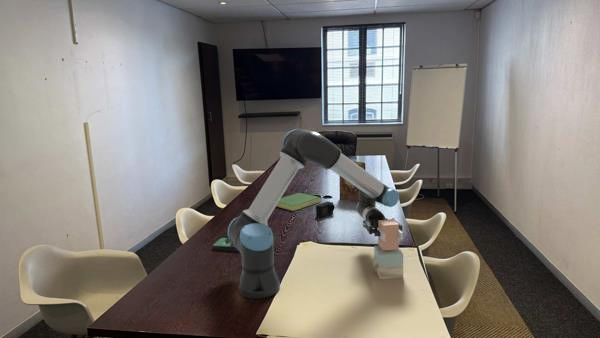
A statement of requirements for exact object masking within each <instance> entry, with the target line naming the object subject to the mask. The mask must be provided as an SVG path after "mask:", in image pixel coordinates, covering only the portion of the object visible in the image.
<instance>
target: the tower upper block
mask: <svg viewBox="0 0 600 338" xmlns="http://www.w3.org/2000/svg"><path fill="white" fill-rule="evenodd" d="M373 250H374V251H373V253H374V255H373V259H374V258H375V260H376V262H377V264H378V265H379V267H400V266H403V267H404V253H403V251H402V250H401V249H400V247H398V249H395V250H382V248H381V247H380V246H379V245H374V249H373Z"/></svg>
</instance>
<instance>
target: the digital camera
mask: <svg viewBox="0 0 600 338" xmlns="http://www.w3.org/2000/svg"><path fill="white" fill-rule="evenodd" d="M335 208H336V207H335V204H334V202H333V201H324V202H322V203H319V204H316V205H315V217H316V218H318V219H324V218H326V217H329V216H332V215H334V210H335Z"/></svg>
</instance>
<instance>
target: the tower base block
mask: <svg viewBox="0 0 600 338" xmlns="http://www.w3.org/2000/svg"><path fill="white" fill-rule="evenodd" d="M372 267H373V268H374V269H373V270H374V272H375V273H376V275H377V277H378V278H379V279H380V280H388V279H389V280H391V279H399V278H400V279H401V278H402V279H403V278H404V265H403V266H400V267H379V265H378V264H377V262H376V260H375V258H374V257H373V266H372Z"/></svg>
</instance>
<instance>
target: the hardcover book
mask: <svg viewBox="0 0 600 338" xmlns="http://www.w3.org/2000/svg"><path fill="white" fill-rule="evenodd" d="M318 203H319V204H320V196H316V195H312V194H306V193H302V192H296V193H294V194H289V195H287V196H282V197H281V199H280V200H279V202H278V203H277V205H276V207H277V208H281V209H284V210H288V211H291V212H294V211H298V210H301V209H304V208H307V207H310V206H312V205H315V204H316V205H317V204H318ZM276 207H275V208H276Z"/></svg>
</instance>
